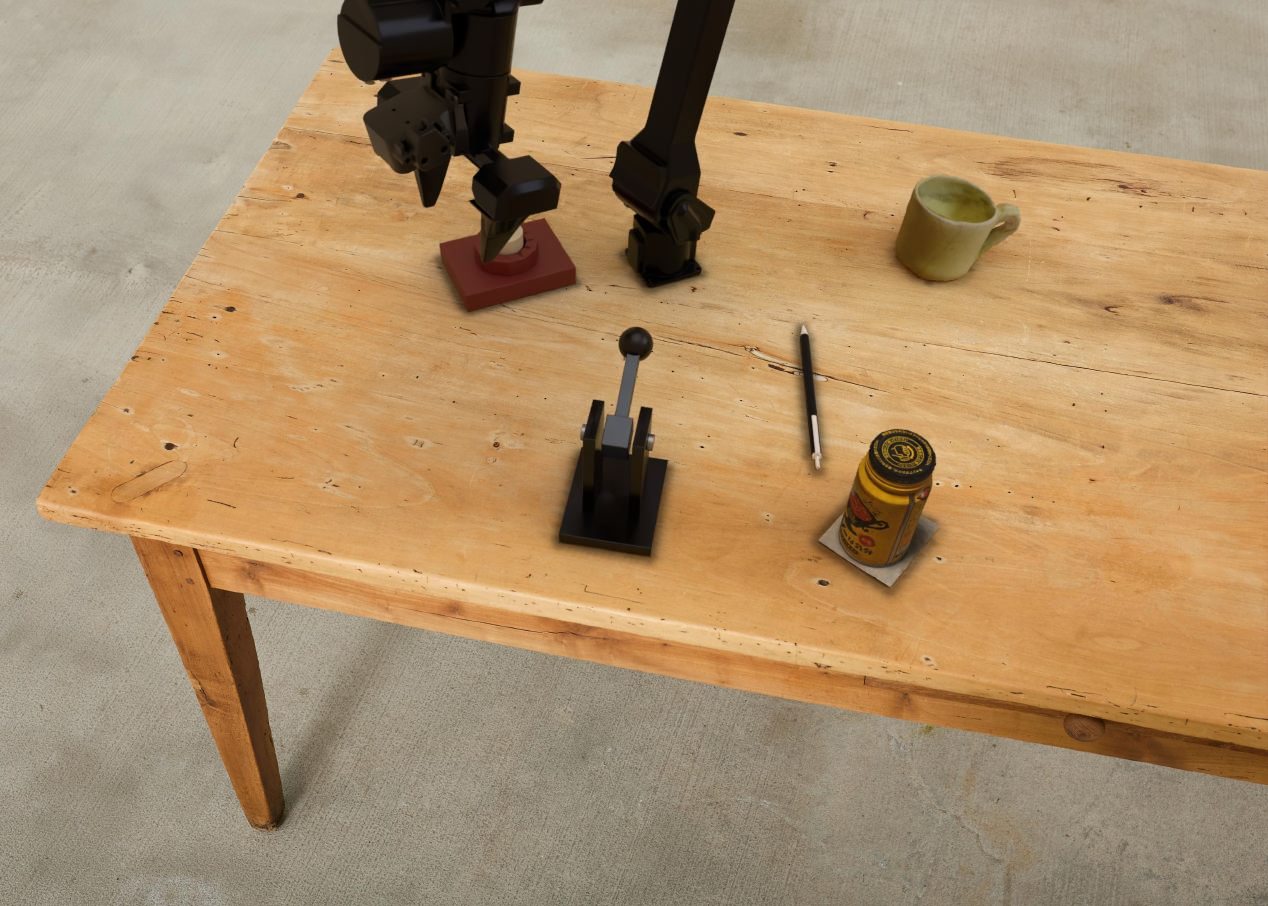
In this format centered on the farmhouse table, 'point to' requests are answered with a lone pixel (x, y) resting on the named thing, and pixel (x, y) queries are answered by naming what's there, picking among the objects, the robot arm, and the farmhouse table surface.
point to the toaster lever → (625, 394)
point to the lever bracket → (614, 491)
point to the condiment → (887, 506)
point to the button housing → (508, 267)
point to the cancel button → (514, 243)
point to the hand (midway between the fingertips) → (457, 233)
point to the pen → (810, 397)
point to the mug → (951, 227)
